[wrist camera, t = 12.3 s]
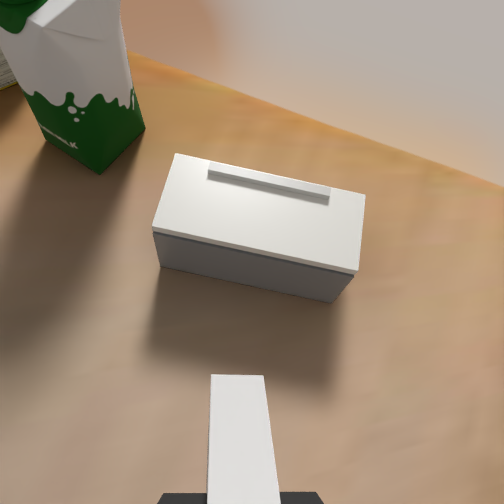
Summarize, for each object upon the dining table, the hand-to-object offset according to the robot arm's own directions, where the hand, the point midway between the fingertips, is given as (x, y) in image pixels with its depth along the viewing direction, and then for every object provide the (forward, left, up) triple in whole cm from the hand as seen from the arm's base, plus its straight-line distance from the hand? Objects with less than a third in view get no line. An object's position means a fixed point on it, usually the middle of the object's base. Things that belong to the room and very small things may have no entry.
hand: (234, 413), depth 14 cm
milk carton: (-18, +26, -26) cm, 41 cm away
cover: (0, +17, -19) cm, 25 cm away
